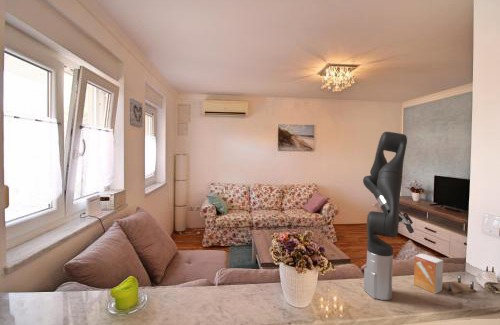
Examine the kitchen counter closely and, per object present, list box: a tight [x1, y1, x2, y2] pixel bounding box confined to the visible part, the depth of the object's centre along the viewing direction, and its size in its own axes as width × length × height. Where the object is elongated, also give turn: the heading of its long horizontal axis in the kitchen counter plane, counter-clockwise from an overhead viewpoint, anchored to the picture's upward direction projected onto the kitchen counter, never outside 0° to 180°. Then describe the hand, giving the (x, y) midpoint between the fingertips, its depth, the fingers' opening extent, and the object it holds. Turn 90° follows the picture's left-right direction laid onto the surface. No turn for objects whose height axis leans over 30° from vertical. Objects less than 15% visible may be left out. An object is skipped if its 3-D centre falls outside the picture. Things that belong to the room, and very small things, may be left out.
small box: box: [413, 253, 444, 294], centre depth 99 cm, size 8×6×13 cm
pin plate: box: [442, 274, 477, 295], centre depth 99 cm, size 12×7×4 cm, turn 99°
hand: (404, 232), depth 111 cm, fingers open, 8 cm apart
